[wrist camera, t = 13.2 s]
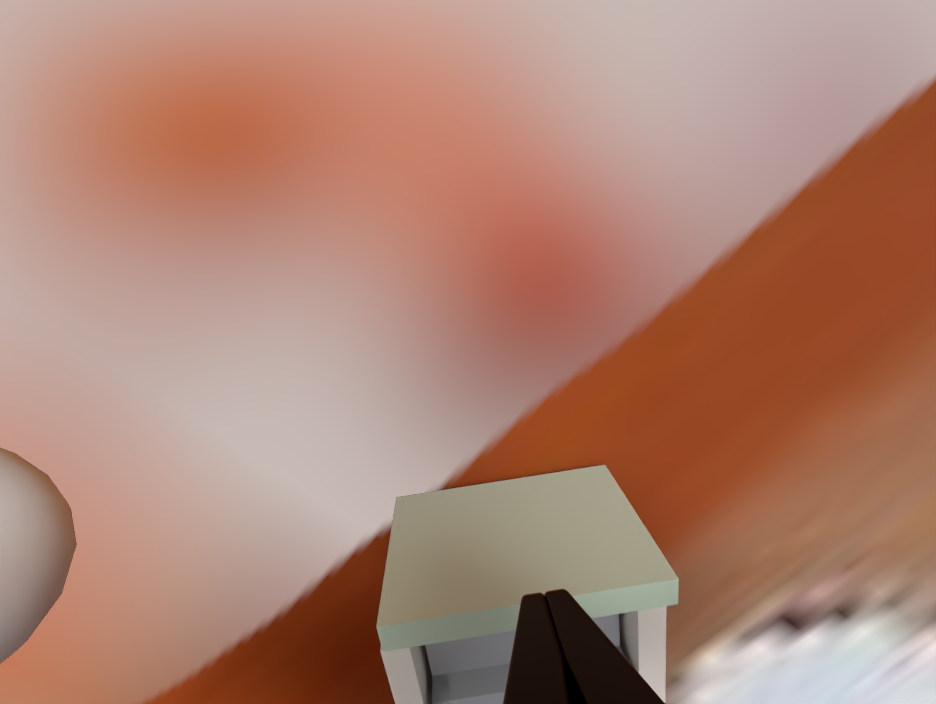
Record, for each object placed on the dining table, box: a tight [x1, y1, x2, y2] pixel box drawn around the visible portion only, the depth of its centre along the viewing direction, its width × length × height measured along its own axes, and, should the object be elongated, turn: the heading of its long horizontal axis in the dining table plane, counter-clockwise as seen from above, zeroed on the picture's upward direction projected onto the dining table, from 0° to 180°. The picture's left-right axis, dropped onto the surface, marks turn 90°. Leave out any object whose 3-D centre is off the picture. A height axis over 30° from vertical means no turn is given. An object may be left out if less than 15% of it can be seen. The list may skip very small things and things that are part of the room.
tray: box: [376, 465, 679, 704], centre depth 18 cm, size 18×9×6 cm, turn 8°
